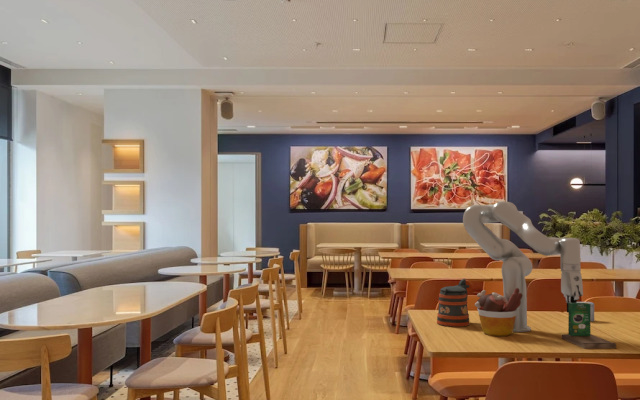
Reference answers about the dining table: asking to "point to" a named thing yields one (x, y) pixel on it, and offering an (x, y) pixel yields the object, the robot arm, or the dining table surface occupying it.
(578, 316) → the coffee box
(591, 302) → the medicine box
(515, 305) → the bucket of meat
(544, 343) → the dining table surface
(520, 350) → the dining table surface
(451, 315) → the beer stein
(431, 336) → the dining table surface
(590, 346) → the walnut board
